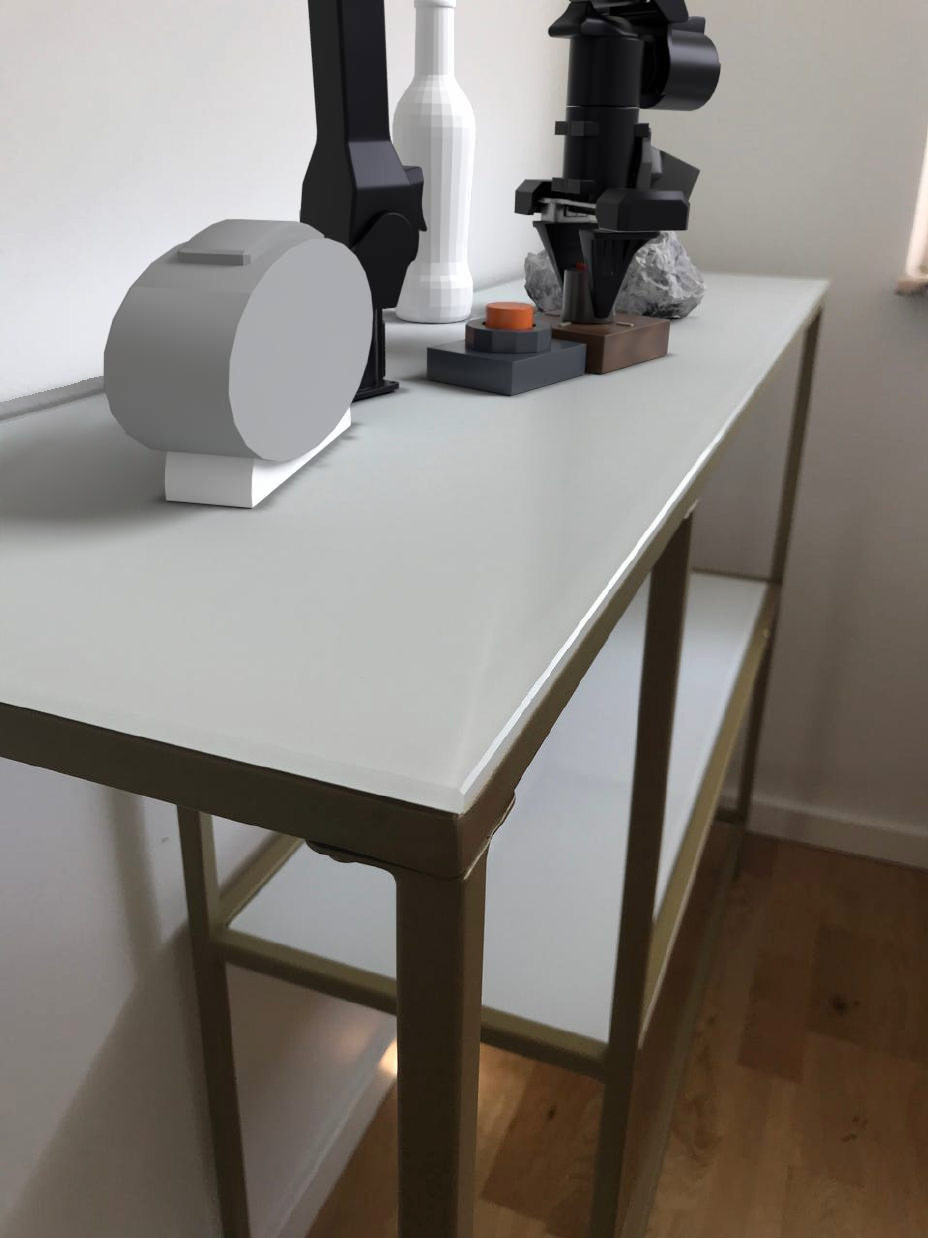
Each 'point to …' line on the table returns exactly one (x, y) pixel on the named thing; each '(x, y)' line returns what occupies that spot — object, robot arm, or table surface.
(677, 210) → the robot arm
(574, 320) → the knob
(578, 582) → the table surface
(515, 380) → the button box
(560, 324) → the panel
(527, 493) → the table surface
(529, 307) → the button
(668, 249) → the rock
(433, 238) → the bottle
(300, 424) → the alarm clock
